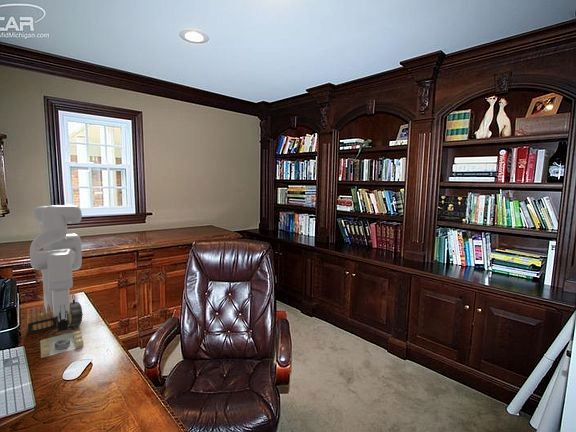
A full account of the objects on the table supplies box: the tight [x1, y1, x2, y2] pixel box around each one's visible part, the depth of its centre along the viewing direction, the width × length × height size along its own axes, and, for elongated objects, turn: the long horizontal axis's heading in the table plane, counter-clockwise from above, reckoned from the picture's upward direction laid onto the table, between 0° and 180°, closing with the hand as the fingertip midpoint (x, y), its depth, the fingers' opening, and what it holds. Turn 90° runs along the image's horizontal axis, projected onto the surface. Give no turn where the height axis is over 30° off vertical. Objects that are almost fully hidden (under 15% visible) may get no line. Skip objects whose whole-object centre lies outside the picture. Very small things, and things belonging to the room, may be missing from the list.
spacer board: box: [40, 330, 85, 359], centre depth 128 cm, size 17×14×3 cm
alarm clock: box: [67, 293, 84, 331], centre depth 143 cm, size 11×5×16 cm, turn 48°
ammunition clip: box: [26, 304, 58, 335], centre depth 139 cm, size 11×2×12 cm, turn 135°
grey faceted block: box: [55, 339, 70, 350], centre depth 125 cm, size 4×5×2 cm
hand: (62, 329), depth 117 cm, fingers closed
